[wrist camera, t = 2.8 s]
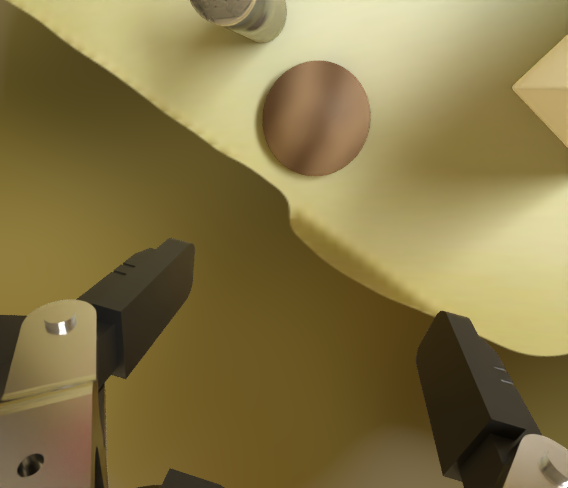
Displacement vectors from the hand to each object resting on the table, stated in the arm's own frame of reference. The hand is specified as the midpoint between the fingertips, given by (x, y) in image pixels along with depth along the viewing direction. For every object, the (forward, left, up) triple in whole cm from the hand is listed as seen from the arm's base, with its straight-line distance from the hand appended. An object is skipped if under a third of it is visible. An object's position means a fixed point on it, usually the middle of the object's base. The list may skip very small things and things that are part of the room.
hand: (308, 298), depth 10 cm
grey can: (-11, +11, -30) cm, 34 cm away
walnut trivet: (-3, +2, -30) cm, 31 cm away
